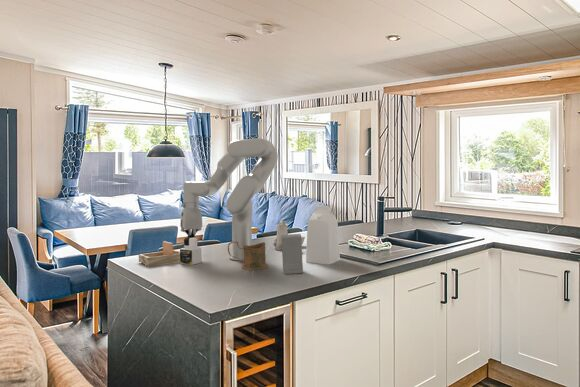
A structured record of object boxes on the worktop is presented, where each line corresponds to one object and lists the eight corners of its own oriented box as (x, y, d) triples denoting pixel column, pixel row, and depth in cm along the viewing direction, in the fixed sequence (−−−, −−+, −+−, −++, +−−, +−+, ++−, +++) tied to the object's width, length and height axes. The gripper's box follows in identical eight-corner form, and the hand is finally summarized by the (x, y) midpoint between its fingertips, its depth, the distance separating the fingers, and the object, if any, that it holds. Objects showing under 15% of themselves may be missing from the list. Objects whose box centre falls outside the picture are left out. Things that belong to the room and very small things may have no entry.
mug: (225, 266, 199) (224, 240, 199) (263, 263, 205) (262, 237, 205) (231, 272, 188) (230, 243, 188) (271, 268, 194) (270, 241, 194)
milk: (340, 259, 211) (339, 205, 210) (329, 264, 201) (328, 206, 200) (317, 257, 217) (316, 204, 216) (306, 262, 207) (305, 206, 206)
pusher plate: (173, 260, 211) (172, 243, 211) (171, 260, 210) (170, 243, 210) (165, 257, 218) (164, 241, 218) (163, 257, 218) (162, 241, 217)
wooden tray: (185, 261, 214) (185, 252, 213) (148, 266, 202) (148, 257, 202) (174, 257, 223) (174, 249, 223) (138, 262, 212) (138, 254, 211)
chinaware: (298, 256, 229) (301, 224, 228) (266, 253, 232) (269, 221, 230) (305, 247, 257) (307, 219, 256) (276, 244, 259) (279, 216, 258)
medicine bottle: (179, 263, 207) (179, 238, 207) (190, 261, 214) (189, 236, 213) (192, 265, 204) (191, 239, 204) (201, 262, 210) (201, 237, 210)
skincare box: (302, 270, 189) (301, 233, 188) (303, 274, 182) (302, 235, 181) (282, 270, 189) (281, 233, 188) (282, 274, 182) (281, 236, 181)
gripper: (180, 207, 214) (180, 245, 215) (208, 206, 223) (208, 242, 224) (173, 206, 220) (173, 243, 221) (201, 205, 229) (201, 240, 230)
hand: (191, 242), depth 222 cm, fingers closed
